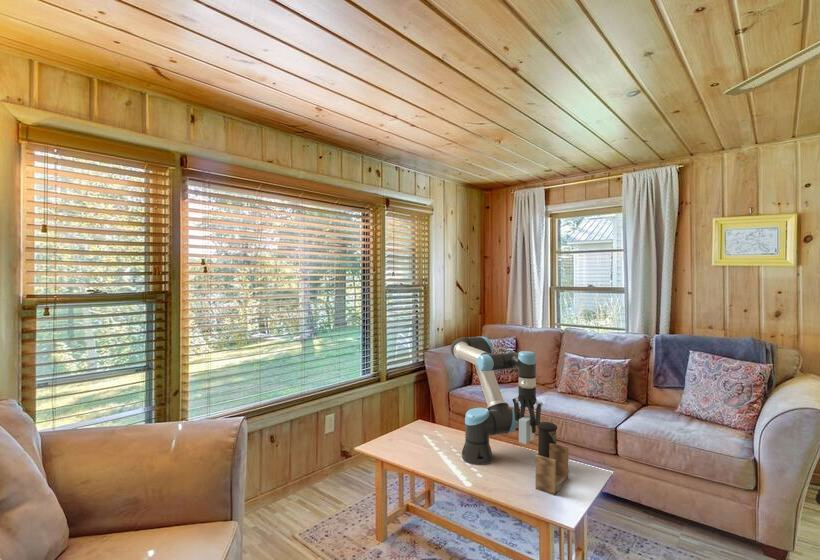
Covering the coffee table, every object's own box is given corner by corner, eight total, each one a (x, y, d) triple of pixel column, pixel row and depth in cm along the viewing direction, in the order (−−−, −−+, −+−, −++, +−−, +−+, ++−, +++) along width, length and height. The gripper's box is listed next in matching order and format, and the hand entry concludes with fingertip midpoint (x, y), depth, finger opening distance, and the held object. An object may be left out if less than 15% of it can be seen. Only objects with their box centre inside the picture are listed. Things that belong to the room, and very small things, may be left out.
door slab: (517, 441, 181) (517, 419, 181) (527, 435, 189) (526, 413, 189) (526, 444, 178) (526, 421, 178) (535, 437, 186) (535, 415, 186)
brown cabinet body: (535, 488, 172) (535, 455, 171) (549, 473, 185) (549, 442, 185) (555, 495, 166) (555, 461, 166) (569, 479, 179) (569, 447, 179)
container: (558, 470, 187) (558, 427, 187) (538, 469, 189) (538, 426, 189) (555, 462, 196) (555, 420, 196) (536, 460, 198) (536, 419, 197)
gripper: (506, 385, 186) (506, 436, 186) (541, 391, 175) (542, 445, 175) (513, 381, 191) (513, 431, 192) (548, 387, 181) (548, 440, 181)
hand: (527, 438), depth 183 cm, fingers closed on door slab, 3 cm apart
